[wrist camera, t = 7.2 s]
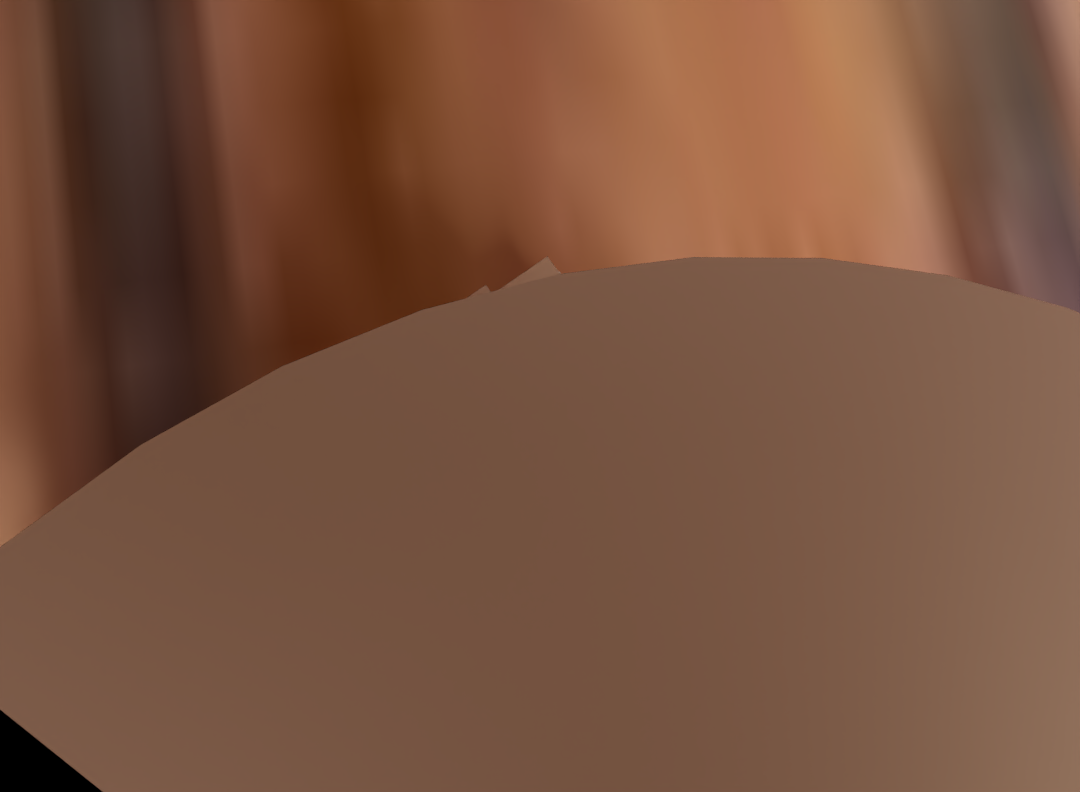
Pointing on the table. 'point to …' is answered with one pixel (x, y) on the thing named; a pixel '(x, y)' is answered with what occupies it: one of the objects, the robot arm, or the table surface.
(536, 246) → the table surface
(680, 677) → the bobbin
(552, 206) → the table surface
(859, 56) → the table surface
